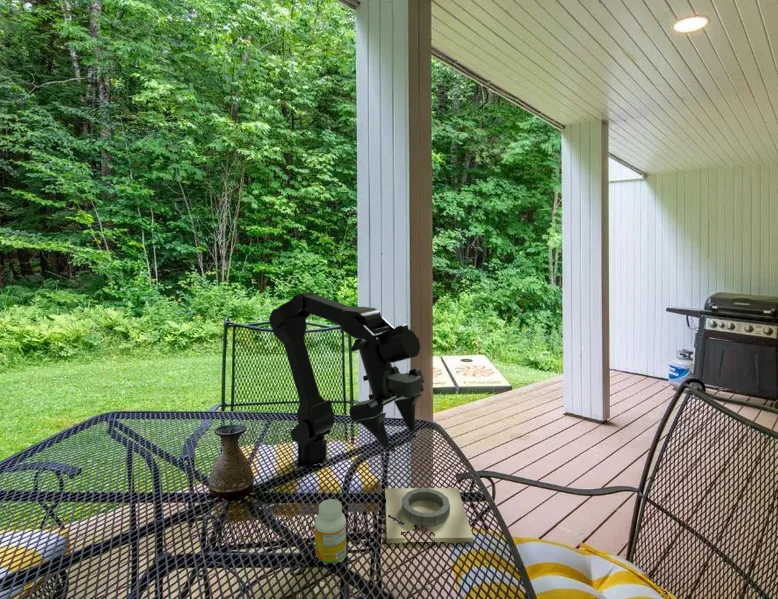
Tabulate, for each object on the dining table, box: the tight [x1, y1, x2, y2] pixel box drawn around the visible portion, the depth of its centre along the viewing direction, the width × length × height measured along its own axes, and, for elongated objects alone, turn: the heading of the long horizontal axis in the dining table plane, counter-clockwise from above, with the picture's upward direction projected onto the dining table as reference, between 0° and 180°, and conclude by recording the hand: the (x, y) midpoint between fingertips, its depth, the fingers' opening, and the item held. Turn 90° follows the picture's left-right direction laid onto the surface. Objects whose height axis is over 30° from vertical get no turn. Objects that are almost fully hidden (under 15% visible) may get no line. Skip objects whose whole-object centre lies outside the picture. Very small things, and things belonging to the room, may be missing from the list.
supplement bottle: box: [314, 498, 347, 563], centre depth 79 cm, size 5×5×10 cm
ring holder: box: [384, 487, 474, 544], centre depth 90 cm, size 16×16×3 cm
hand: (400, 438), depth 93 cm, fingers open, 9 cm apart
